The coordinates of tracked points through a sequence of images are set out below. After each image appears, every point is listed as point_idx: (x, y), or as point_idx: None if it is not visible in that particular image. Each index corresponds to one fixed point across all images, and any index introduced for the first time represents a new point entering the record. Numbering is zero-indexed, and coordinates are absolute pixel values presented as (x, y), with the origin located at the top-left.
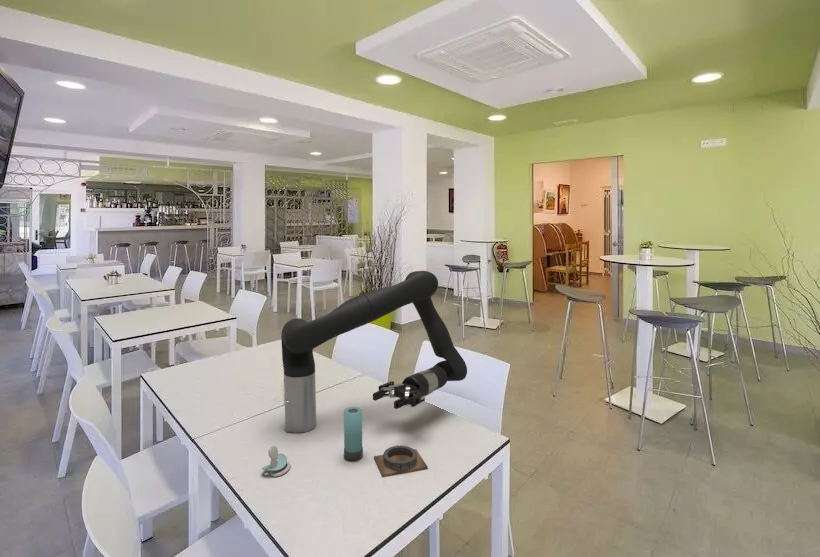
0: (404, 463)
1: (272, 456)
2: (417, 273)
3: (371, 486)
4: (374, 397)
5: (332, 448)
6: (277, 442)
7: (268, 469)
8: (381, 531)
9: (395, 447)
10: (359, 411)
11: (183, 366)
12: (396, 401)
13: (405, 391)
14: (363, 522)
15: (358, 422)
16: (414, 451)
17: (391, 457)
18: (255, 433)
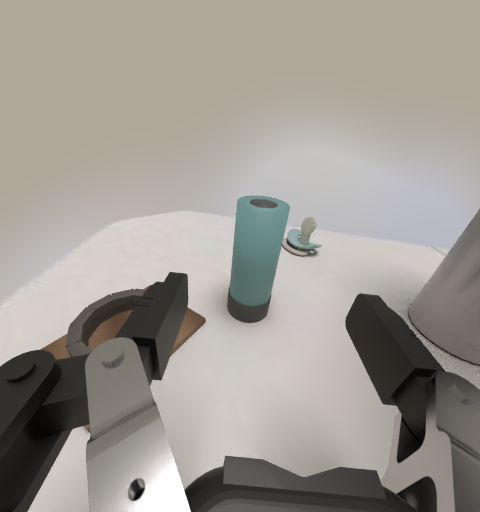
0: (101, 299)
1: (302, 225)
2: None
3: (158, 268)
4: (351, 307)
5: (305, 306)
6: (380, 277)
7: (297, 236)
8: (108, 233)
9: None
10: (246, 204)
11: None
12: (170, 274)
13: (163, 438)
14: (136, 234)
15: (235, 224)
16: (77, 353)
17: None
18: (430, 277)
